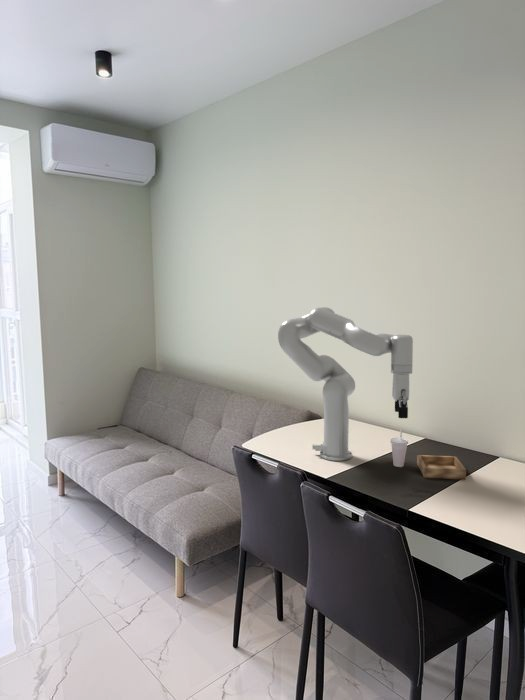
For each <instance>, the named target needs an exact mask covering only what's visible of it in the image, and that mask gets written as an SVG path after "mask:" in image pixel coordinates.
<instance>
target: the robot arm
mask: <svg viewBox="0 0 525 700" xmlns="http://www.w3.org/2000/svg"><path fill="white" fill-rule="evenodd" d="M320 332H321V333H324V334H326V335H327V336H331V337H333V338H335V339H338V340H340V341H342V342H343V343H346V344H347V345H349V346H350V347H352V348H354V349H356V350H358V351H360V352H362V353H364V354H365V353H366V354H368V355H370V356H373V357H381V356H383V355H386V354H389V353H390V374H393V375H392V391H391V392H392V393H391V395H392V396H391V397H392V398H393V400H394V412H395V413H397V414H398V418H399V419H408V418H409V416H408V415H409V407H408V405H409V404H408V401H409V400H410V374H413V357H414V356H413V354H414V353H413V352H414V351H413V350H414V349H413V348H414V347H413V345H414V344H413V343H414V341H413V339H414V338H413V337H412V336H411V335H410V334H388V333H378V334H375V333H372V332H371V331H370V332H369V331H368V330H365V329H363V328H360V327H359V326H358V325H356V323H354V320H352V319H351V318H348V317H345V316H343V315H341V314H340V315H339V314H337V313H335V311H334V310H333V309H332V308H329V307H326V306H323V307H316V308H313V309H312V310H311V311H310V312H309V313H308V314H305V315H303V316H301V317H297V318H296V317H295V318H291V319H289V318H288V319H286V320H285V321H283V322H282V323H281V325H280V326H279V329H278V332H277V340H278V345H279V346H280V348H281V350H282V351H283V352H284V353H285V354H286V355H287V356H288V357H289V359H291V361H293V362H294V363H295V364H296V365H297V366H298V368H299V369H300V370H301V371H303V372H304V374H305V375H306V376H307V377H308V378H309V379H311V380H312V381H313V382H321V381H324V382H325V383H324V384H323V387H322V397H323V399H322V400H323V442H322V443H321V444H312V450H315V452H319V457H321V458H322V459H325V460H327V461H332V462H333V461H335V462H337V461H340V462H341V461H348V460H350V459H352V457H353V453H352V451H350V450H349V433H350V432H349V427H350V426H349V424H350V421H349V419H350V413H349V411H350V409H349V402H348V399H349V398H348V397H350V396H351V395H352V394H353V393H354V391H355V390H356V381H355V380H354V379H355V378H353V376H352V375H351V374H350V373H349V372H348V371H347V370H346V369H345V368H344V367H343V366H342V365H341V364H340V363H339V362H338V361H336V360H335V358H333V357H331V356H329V355H326V354H321V355H318V354H317V353H316V352H315V351H314V350H313V349H312V347H311V346H309V345H308V344H307V343H305V342H303V341H302V340H301V339H304V338H305V339H306V338H308V337H310V336H313V335H314V334H317V333H320Z"/></svg>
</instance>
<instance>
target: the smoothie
mask: <svg viewBox="0 0 525 700" xmlns="http://www.w3.org/2000/svg"><path fill="white" fill-rule="evenodd" d="M399 431H400V432H399V437H393V438H390V444H391V452H392V462H393V466H394V467H397V468H403V467H404V466H405V459H406V453H407V447H408V444H409V440H408V439H406V438H403V437H402V436H403V435H402V434H403V428H400V429H399Z"/></svg>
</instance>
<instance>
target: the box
mask: <svg viewBox="0 0 525 700" xmlns="http://www.w3.org/2000/svg"><path fill="white" fill-rule="evenodd" d="M416 465H417V467H418V469H419V471H420V473H421V475H422V477H423V478H424V479H441V480H442V479H444V480H445V479H446V480H464V479H466V480H467V468H465V466H464V465H463V463H462V462H461V461H460V460H459V458H458V457H457V456H456V455H455V456H453V455H452V456H451V455H427V454H426V455H424V454H417V455H416Z"/></svg>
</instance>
